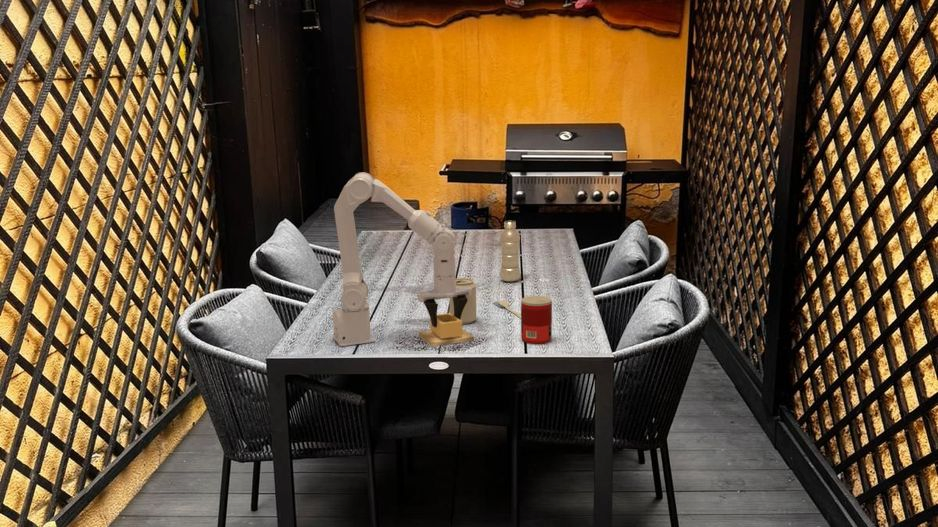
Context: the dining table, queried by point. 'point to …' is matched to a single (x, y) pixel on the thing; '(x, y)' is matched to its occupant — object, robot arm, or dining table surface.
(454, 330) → the link
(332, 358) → the dining table surface
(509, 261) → the plastic bottle
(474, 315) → the can
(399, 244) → the dining table surface
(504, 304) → the fork
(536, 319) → the canned food
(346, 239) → the robot arm
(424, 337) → the wooden block with peg
